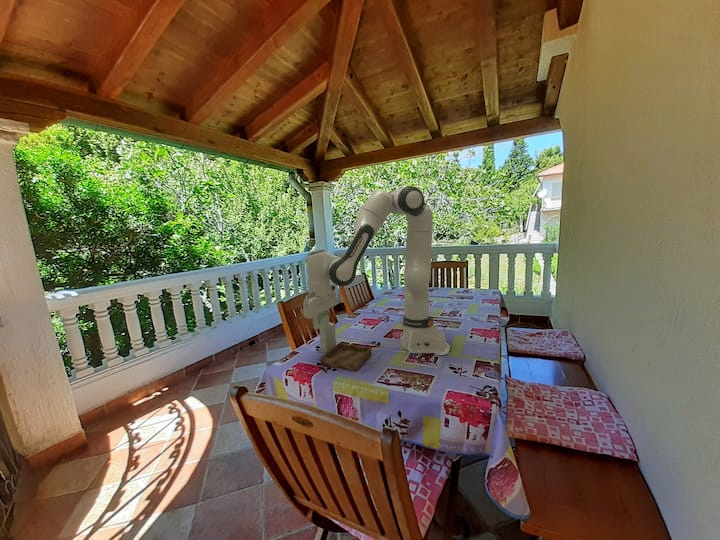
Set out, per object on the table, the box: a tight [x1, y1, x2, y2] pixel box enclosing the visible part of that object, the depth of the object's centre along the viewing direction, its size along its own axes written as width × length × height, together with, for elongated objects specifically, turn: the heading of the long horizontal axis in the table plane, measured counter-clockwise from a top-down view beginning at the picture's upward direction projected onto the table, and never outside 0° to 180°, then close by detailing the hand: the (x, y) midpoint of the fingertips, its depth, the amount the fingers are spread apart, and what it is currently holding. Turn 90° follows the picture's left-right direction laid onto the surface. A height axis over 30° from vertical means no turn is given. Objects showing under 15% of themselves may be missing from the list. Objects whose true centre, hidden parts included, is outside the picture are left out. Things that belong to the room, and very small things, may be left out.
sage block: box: [312, 312, 331, 330], centre depth 121 cm, size 5×5×5 cm
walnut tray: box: [320, 342, 373, 373], centre depth 122 cm, size 16×16×3 cm
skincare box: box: [319, 321, 337, 353], centre depth 131 cm, size 6×4×12 cm
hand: (321, 321), depth 121 cm, fingers closed on sage block, 5 cm apart
